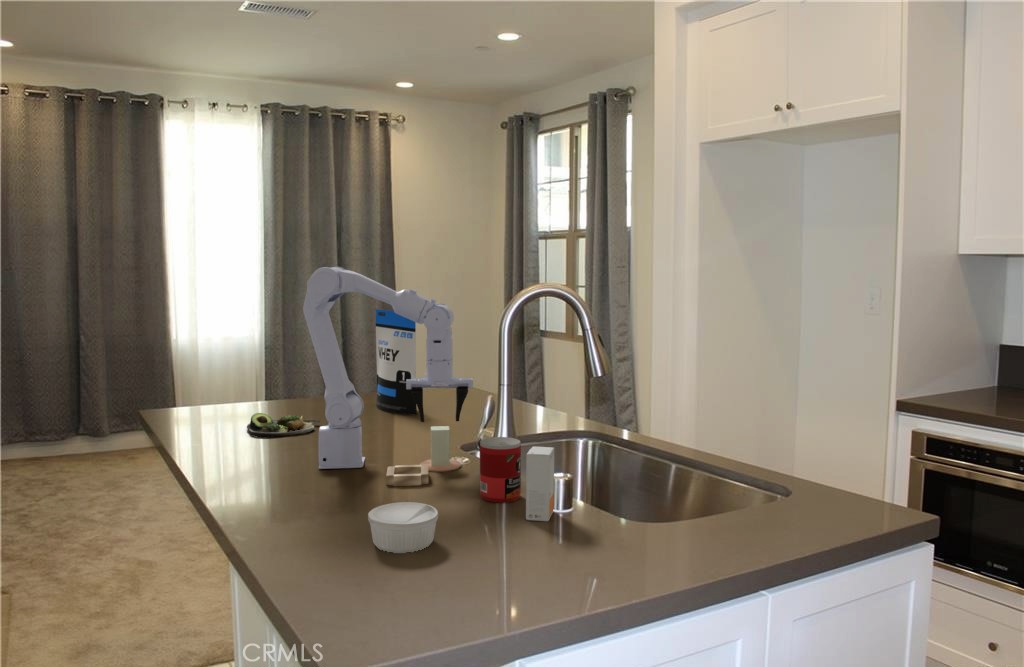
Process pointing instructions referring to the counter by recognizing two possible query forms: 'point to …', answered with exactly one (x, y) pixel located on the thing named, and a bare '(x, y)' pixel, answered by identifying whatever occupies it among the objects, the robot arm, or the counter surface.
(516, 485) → the canned food
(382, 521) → the ramekin
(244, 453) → the counter surface
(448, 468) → the terracotta coaster
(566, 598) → the counter surface
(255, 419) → the salad plate
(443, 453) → the sage peg
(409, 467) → the oak holder
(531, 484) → the skincare box
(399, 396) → the protein powder
